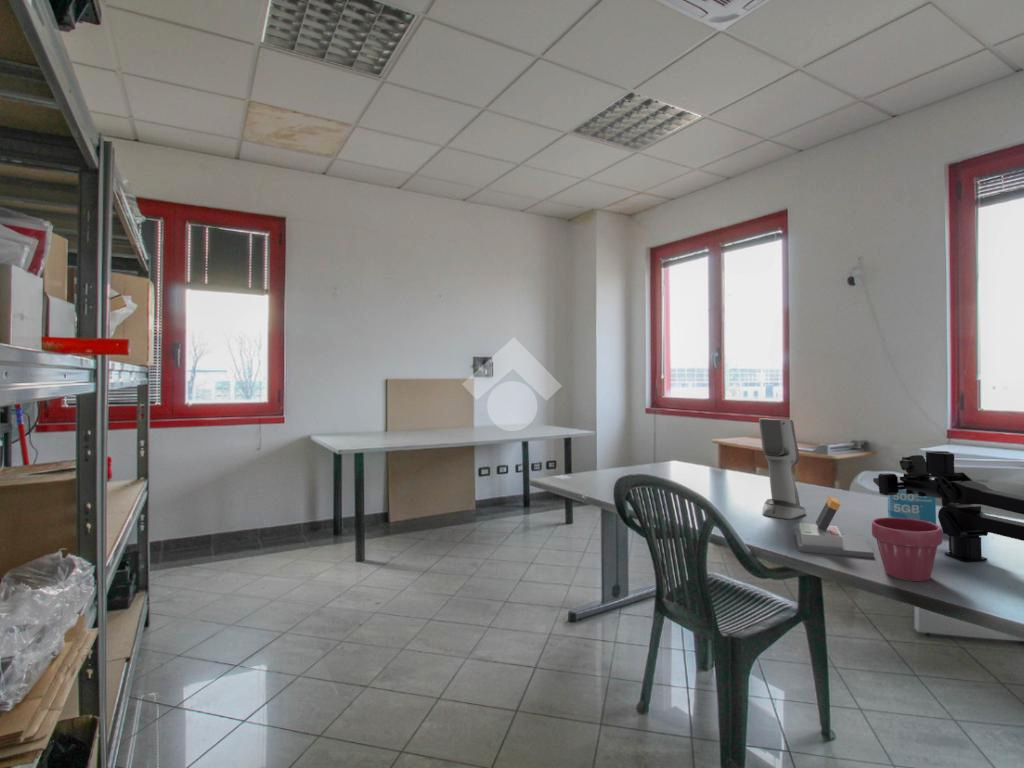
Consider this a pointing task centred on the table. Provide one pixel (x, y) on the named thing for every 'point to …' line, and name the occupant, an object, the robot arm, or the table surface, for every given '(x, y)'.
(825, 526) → the lever
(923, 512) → the data package
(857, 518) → the table surface
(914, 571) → the plant pot
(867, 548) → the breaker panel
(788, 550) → the table surface
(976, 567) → the table surface
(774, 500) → the handheld scanner
